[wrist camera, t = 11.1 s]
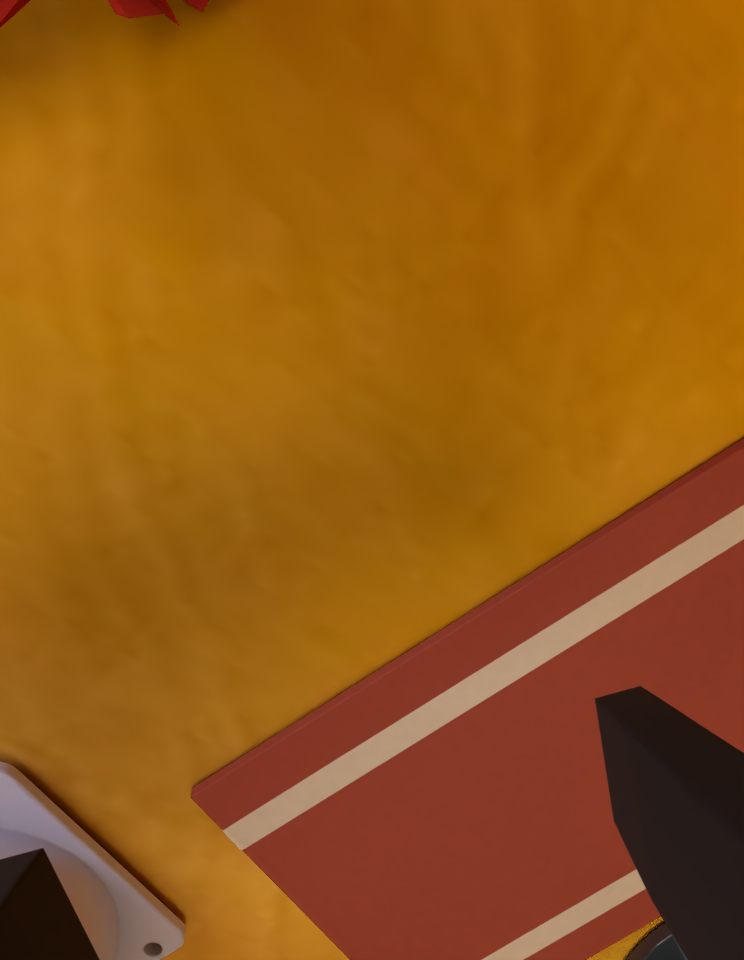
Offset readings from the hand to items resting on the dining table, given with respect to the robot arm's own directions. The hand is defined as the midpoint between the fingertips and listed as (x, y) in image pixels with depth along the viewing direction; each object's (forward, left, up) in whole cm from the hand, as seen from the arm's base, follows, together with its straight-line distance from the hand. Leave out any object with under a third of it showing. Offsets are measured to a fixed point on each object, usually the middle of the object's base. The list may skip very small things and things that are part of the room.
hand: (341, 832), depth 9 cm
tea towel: (+2, -11, -9) cm, 14 cm away
